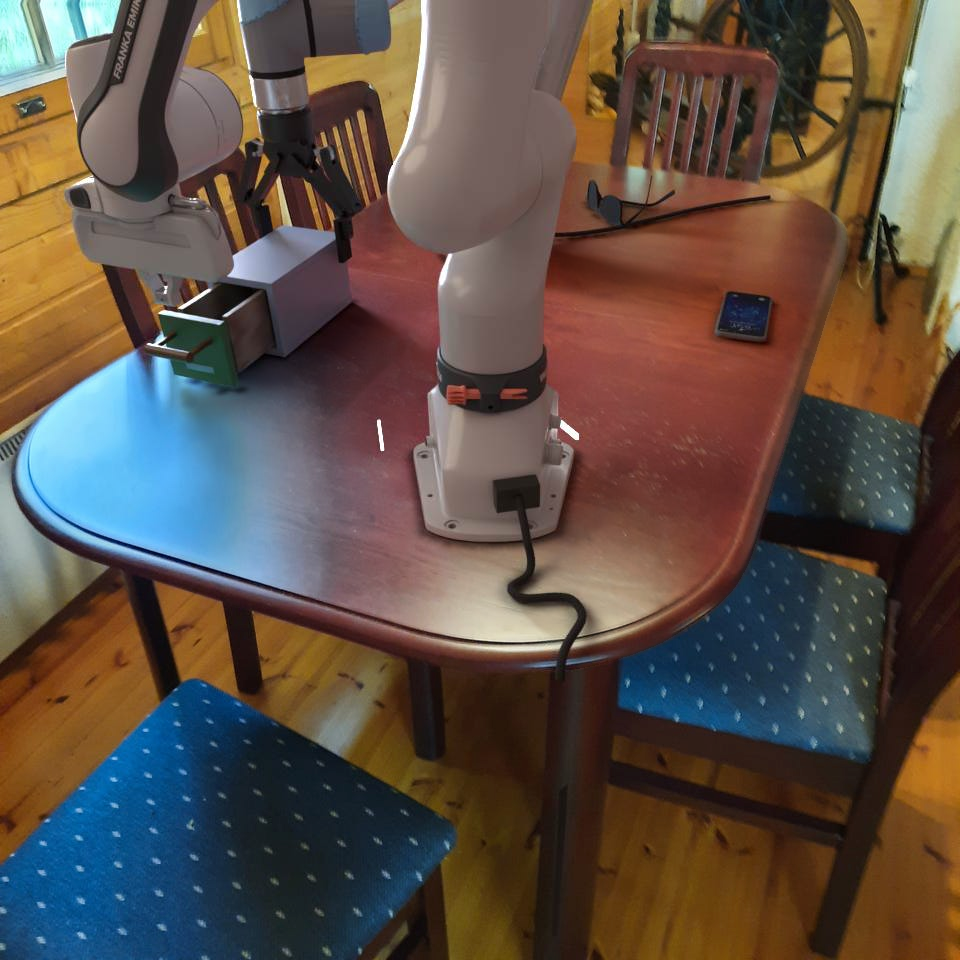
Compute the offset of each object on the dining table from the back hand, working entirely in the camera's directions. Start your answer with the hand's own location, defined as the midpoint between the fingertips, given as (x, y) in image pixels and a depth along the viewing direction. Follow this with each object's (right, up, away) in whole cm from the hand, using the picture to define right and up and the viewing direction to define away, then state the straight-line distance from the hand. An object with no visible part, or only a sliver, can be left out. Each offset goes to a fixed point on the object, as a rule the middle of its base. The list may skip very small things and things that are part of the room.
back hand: (306, 254), depth 131 cm
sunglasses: (+56, +18, +35) cm, 68 cm away
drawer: (-8, -18, -11) cm, 23 cm away
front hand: (-12, -13, -25) cm, 31 cm away
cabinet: (-3, -10, 0) cm, 11 cm away
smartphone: (+66, -11, -3) cm, 67 cm away
